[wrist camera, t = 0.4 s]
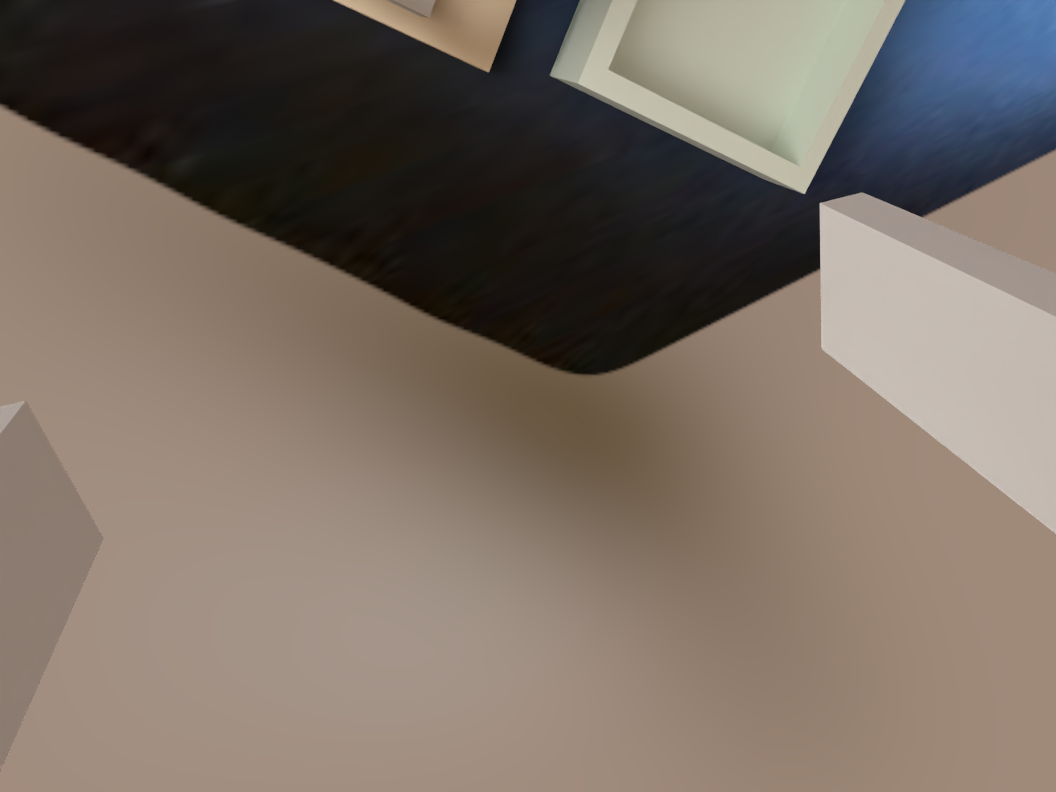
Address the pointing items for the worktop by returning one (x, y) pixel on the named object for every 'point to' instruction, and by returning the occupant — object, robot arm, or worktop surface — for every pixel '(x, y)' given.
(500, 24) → the block
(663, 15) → the tray
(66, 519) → the robot arm
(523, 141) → the worktop surface
